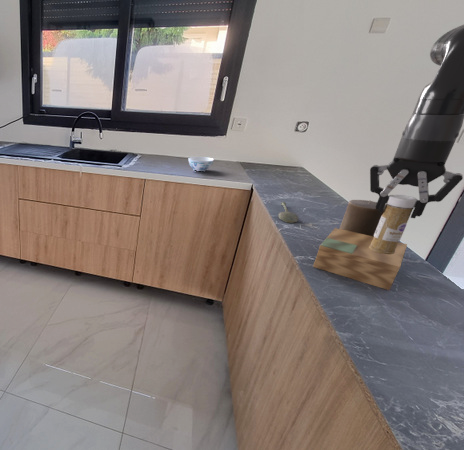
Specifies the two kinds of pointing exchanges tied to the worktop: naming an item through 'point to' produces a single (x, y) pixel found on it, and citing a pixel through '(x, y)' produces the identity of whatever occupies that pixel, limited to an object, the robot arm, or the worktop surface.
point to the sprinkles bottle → (392, 223)
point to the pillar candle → (361, 217)
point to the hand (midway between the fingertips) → (396, 214)
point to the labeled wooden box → (358, 258)
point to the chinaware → (200, 163)
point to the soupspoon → (288, 215)
